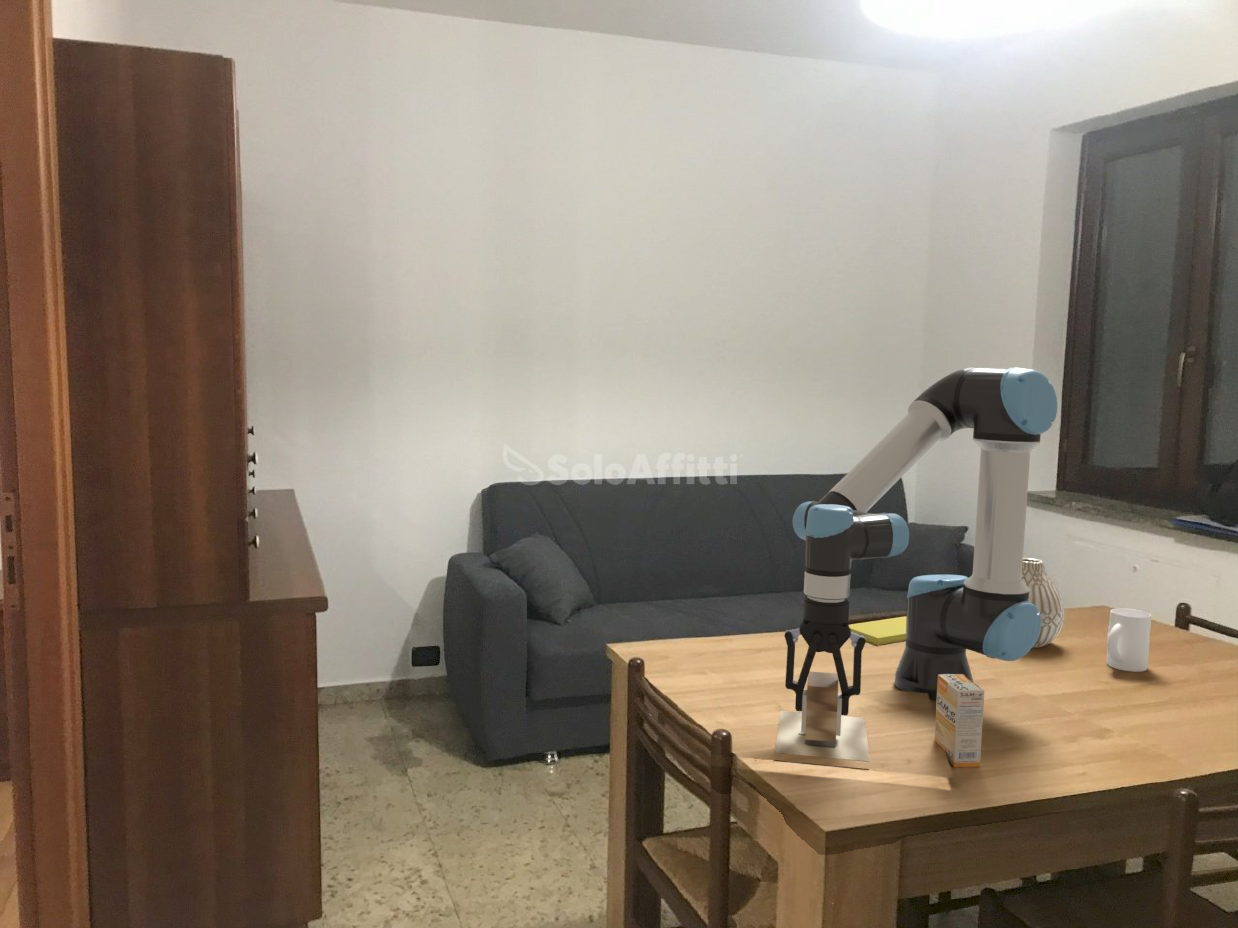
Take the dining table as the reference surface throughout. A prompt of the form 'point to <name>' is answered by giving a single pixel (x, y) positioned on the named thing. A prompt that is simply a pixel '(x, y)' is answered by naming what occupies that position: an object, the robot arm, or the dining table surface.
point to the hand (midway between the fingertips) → (820, 730)
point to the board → (847, 746)
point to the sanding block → (821, 709)
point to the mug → (1128, 639)
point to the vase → (1043, 600)
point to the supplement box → (959, 719)
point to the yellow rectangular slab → (882, 630)
